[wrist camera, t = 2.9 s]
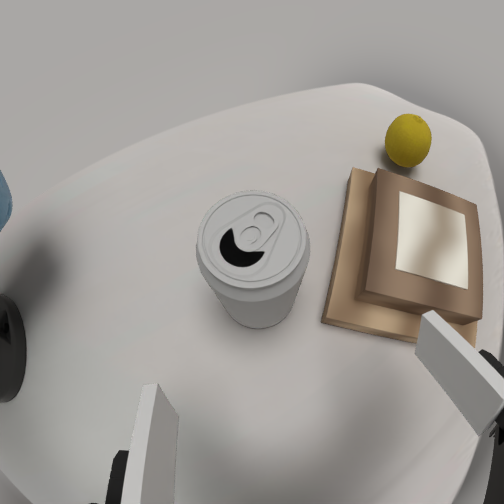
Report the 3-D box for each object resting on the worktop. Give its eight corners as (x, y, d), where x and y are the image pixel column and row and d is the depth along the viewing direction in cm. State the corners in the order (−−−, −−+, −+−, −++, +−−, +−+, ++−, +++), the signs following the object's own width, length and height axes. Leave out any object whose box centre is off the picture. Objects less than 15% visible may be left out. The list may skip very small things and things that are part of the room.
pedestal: (320, 322, 24) (335, 309, 19) (347, 181, 30) (359, 146, 25) (460, 351, 21) (495, 343, 16) (463, 219, 27) (487, 194, 22)
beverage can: (210, 299, 25) (165, 244, 14) (254, 249, 27) (244, 166, 16) (264, 344, 24) (259, 323, 13) (308, 288, 25) (336, 224, 14)
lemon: (417, 185, 29) (444, 141, 22) (377, 172, 30) (398, 124, 23) (414, 154, 31) (436, 111, 24) (377, 142, 32) (394, 96, 25)
